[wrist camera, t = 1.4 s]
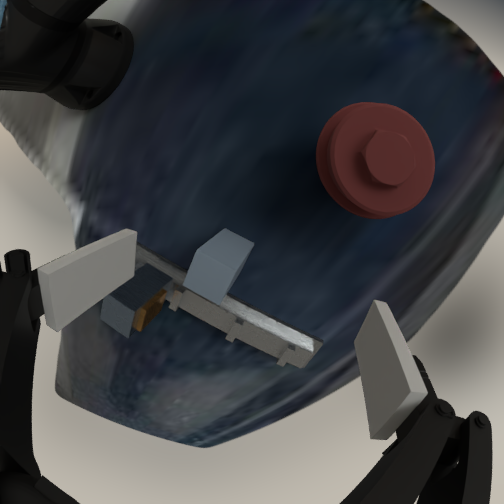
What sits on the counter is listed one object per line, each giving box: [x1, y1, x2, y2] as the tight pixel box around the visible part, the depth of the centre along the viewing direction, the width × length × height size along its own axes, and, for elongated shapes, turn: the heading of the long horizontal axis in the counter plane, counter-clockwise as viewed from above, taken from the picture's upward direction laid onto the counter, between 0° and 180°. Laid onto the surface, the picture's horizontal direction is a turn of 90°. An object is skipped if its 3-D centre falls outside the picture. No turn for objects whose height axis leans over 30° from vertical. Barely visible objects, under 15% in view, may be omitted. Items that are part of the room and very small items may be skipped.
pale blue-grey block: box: [183, 228, 254, 305], centre depth 29 cm, size 5×4×9 cm
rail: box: [100, 241, 323, 368], centre depth 30 cm, size 30×5×12 cm, turn 64°
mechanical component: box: [316, 102, 435, 219], centre depth 22 cm, size 12×10×10 cm
